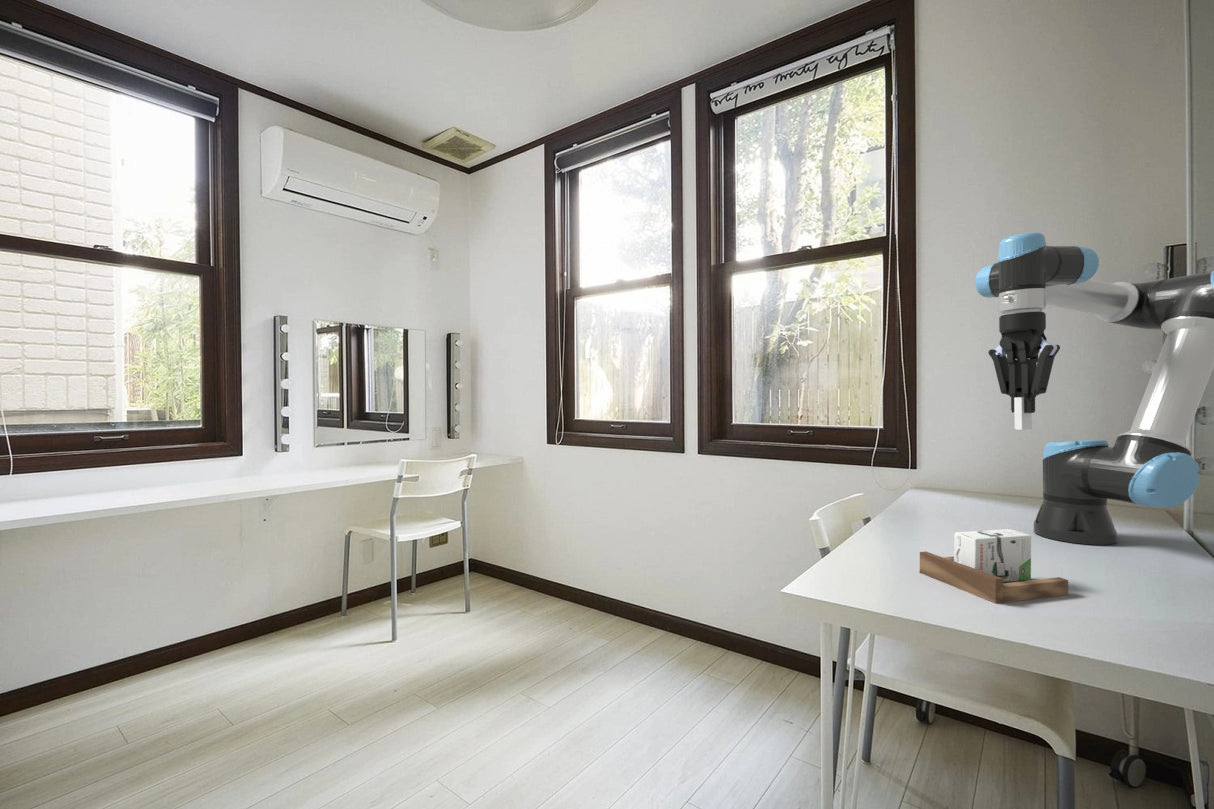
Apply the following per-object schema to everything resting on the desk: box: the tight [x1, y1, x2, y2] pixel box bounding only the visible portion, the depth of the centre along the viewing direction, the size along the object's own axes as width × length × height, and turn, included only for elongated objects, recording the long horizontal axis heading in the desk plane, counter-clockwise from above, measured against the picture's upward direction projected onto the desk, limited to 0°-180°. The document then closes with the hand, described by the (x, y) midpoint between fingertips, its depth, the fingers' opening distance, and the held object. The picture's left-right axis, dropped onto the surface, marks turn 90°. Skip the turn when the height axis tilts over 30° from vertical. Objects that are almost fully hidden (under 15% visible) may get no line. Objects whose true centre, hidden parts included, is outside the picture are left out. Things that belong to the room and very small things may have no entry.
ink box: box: [953, 528, 1032, 582], centre depth 101 cm, size 9×5×12 cm
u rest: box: [919, 551, 1069, 604], centre depth 100 cm, size 16×16×4 cm
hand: (1023, 429), depth 111 cm, fingers closed
